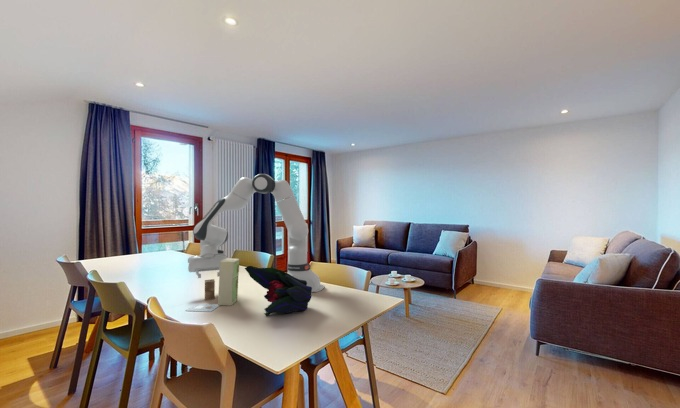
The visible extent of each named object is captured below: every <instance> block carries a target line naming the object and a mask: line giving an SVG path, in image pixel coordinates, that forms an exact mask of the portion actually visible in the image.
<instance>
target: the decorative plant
mask: <svg viewBox="0 0 680 408" xmlns="http://www.w3.org/2000/svg"><path fill="white" fill-rule="evenodd" d="M244 269H245V271H246V272H247V274H248V276H250V278H251V279H253V281H255V282H256V283H257V284H259V285H260V286H261V287H263V288H264V289H265V290H267V291H266V294H264V295H263V297H264V299H265V300H267V302H269V303H270V304H269V305H267V307H264V311H265V313H263V314H264V315H265V316H269V315H272V314H274V313H275V314H278V315H283V314H284V315H285V314H289V313H293V312H297V311H300V312H305V311H307V310H308V305H309V303H310V301H311V299H312V293H313V292H312V287H310V286H307V282H306V281H305V280H299V279H297V278H295V277H293V276H291V275H290V274H288V272H287V271H283V270H281V269H278V268H274V267H256V266H253V265H248V266H246V267H244Z"/></svg>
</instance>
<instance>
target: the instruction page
mask: <svg viewBox="0 0 680 408" xmlns="http://www.w3.org/2000/svg"><path fill="white" fill-rule="evenodd" d="M220 306H221V305H218V303H217V304H216V303H215V304H213V303H212V304H211V303H196V304H195V305H193V306H190V307H189V308H188V309H186V310H185V312H203V313H204V312H207V313H211V312H213V311H214V310H216V309H217V308H218V307H220Z"/></svg>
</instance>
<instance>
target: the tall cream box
mask: <svg viewBox="0 0 680 408" xmlns="http://www.w3.org/2000/svg"><path fill="white" fill-rule="evenodd" d="M239 272H240V259H239V258H233V257H232V258H229V257H228V258H226V259H224V260H222V261H220V274H219V276H218V277H219V278H218V294H217V295H218V299H217V304H218V305H220V306H233V304H235V303H236V302H237V301H238V294H239V293H238V292H239V291H238V290H239Z"/></svg>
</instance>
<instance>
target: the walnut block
mask: <svg viewBox="0 0 680 408" xmlns="http://www.w3.org/2000/svg"><path fill="white" fill-rule="evenodd" d="M215 282H216V281H215V278H212V279H205V280H204V300H205V301H209V300H214V299H216V298H215V296H216V295H215V293H216V292H215V289H216V288H215V287H216V286H215V284H216V283H215Z"/></svg>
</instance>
